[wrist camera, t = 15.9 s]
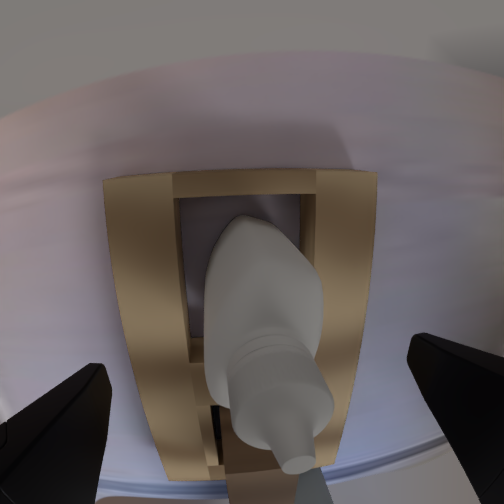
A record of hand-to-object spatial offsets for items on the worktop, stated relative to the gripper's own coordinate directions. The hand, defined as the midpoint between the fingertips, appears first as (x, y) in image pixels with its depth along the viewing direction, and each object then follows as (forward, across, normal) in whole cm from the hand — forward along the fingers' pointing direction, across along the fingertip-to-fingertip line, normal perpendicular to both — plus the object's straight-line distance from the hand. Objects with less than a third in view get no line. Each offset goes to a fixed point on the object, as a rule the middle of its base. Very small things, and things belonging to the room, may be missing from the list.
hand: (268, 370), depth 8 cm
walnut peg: (+9, 0, +10) cm, 13 cm away
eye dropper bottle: (+9, 0, 0) cm, 9 cm away
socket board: (+9, 0, +5) cm, 10 cm away
